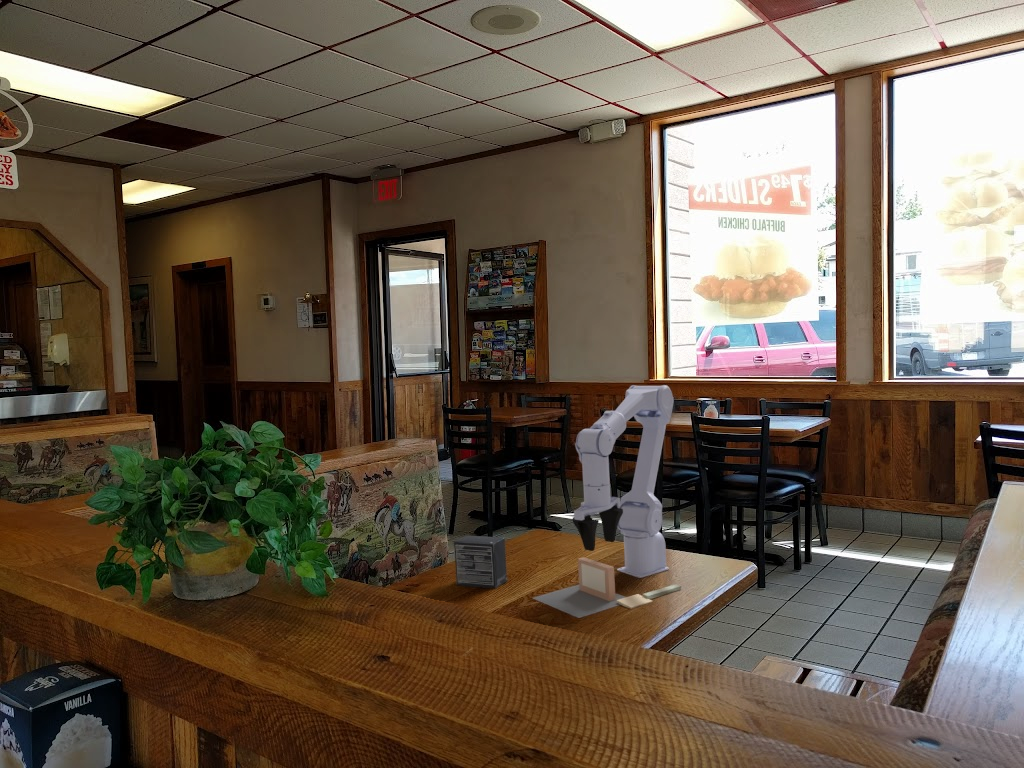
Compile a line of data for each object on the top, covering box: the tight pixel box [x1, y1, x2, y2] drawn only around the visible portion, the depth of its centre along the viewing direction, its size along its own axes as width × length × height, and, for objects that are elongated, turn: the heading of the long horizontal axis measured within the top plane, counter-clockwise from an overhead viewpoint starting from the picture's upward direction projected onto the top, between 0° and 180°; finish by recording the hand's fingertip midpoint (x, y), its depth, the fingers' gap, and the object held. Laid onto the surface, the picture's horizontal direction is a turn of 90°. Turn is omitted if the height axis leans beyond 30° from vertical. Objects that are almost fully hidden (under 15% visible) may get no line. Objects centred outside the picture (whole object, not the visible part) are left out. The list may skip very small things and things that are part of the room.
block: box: [577, 556, 616, 601], centre depth 168 cm, size 2×10×7 cm, turn 34°
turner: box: [617, 583, 682, 610], centre depth 165 cm, size 16×4×1 cm, turn 124°
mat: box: [532, 584, 627, 619], centre depth 166 cm, size 15×16×1 cm
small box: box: [453, 535, 508, 589], centre depth 181 cm, size 11×6×10 cm, turn 65°
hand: (599, 545), depth 170 cm, fingers open, 7 cm apart
